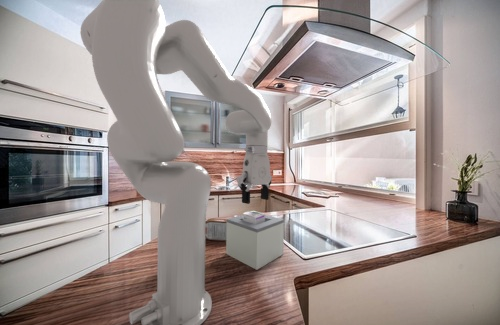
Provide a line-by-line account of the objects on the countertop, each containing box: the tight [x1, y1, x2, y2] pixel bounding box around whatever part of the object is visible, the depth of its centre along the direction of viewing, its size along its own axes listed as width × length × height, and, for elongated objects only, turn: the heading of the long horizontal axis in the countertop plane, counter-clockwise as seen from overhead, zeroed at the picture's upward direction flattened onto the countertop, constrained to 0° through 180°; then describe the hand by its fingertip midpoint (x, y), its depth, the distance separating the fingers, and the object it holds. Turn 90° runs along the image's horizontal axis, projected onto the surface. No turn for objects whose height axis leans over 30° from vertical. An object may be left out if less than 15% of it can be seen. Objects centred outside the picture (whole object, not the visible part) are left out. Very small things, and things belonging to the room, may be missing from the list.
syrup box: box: [242, 210, 266, 225], centre depth 67 cm, size 6×6×14 cm
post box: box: [225, 214, 285, 271], centre depth 67 cm, size 14×14×12 cm
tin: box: [205, 217, 228, 242], centre depth 79 cm, size 15×3×8 cm, turn 84°
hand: (255, 201), depth 67 cm, fingers open, 9 cm apart
